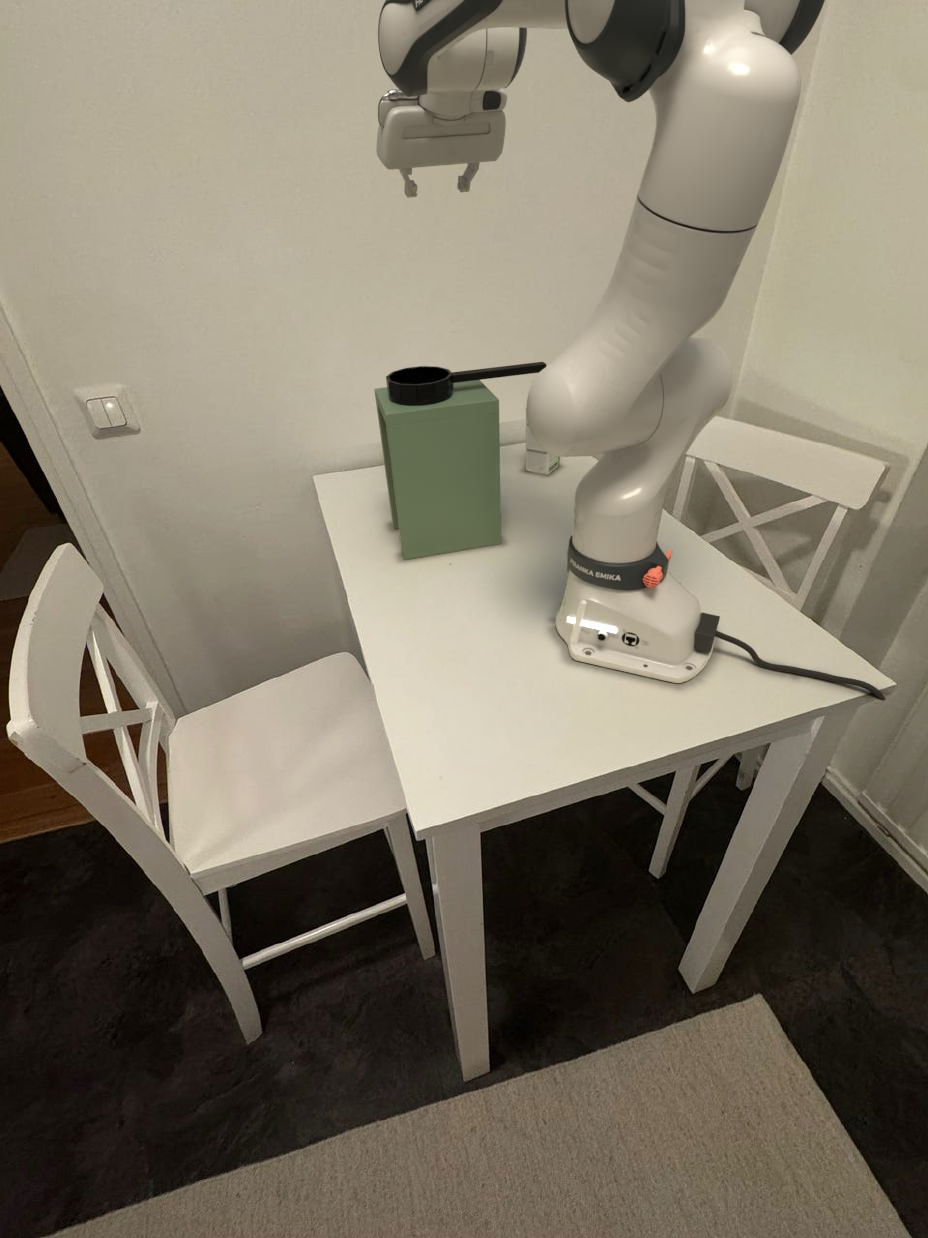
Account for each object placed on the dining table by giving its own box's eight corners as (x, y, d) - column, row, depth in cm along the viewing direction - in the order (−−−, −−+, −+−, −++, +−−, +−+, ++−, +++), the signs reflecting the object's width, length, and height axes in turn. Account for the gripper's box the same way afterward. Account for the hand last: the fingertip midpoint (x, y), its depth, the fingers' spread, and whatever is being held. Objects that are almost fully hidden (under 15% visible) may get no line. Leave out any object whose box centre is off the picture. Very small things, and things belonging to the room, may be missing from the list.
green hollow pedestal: (481, 510, 121) (476, 376, 106) (501, 543, 110) (499, 399, 95) (392, 524, 118) (374, 388, 103) (404, 560, 107) (385, 414, 92)
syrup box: (548, 475, 133) (550, 409, 124) (524, 470, 135) (525, 405, 127) (559, 466, 136) (562, 401, 128) (536, 461, 139) (538, 397, 130)
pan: (534, 372, 106) (534, 352, 104) (555, 388, 98) (556, 368, 96) (385, 390, 102) (382, 370, 100) (394, 409, 93) (391, 388, 91)
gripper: (386, 101, 82) (384, 209, 94) (517, 95, 88) (499, 197, 100) (370, 79, 85) (370, 187, 97) (498, 75, 91) (483, 177, 103)
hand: (437, 192), depth 99 cm, fingers open, 8 cm apart
